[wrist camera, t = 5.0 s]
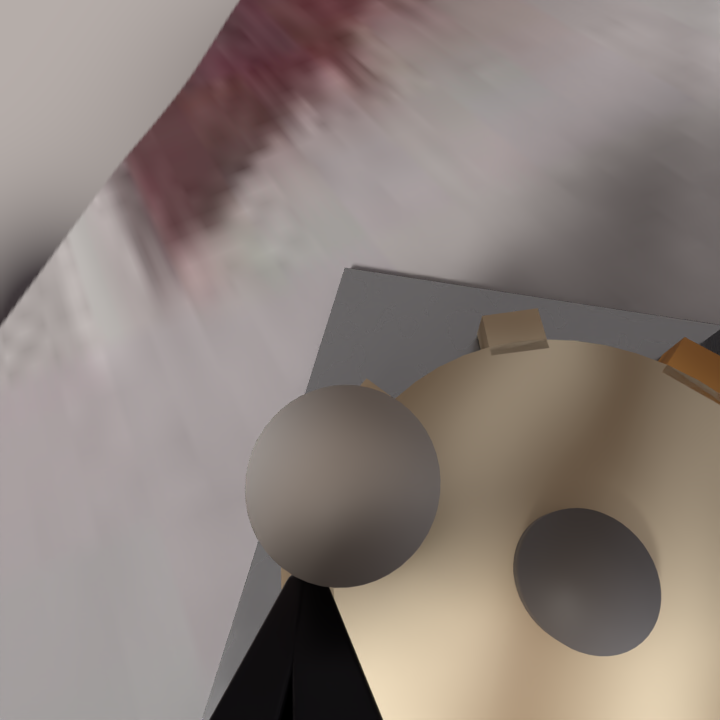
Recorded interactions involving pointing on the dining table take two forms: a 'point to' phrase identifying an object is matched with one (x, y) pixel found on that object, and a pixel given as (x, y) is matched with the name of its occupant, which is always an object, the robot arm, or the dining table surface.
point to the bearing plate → (418, 358)
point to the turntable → (513, 528)
